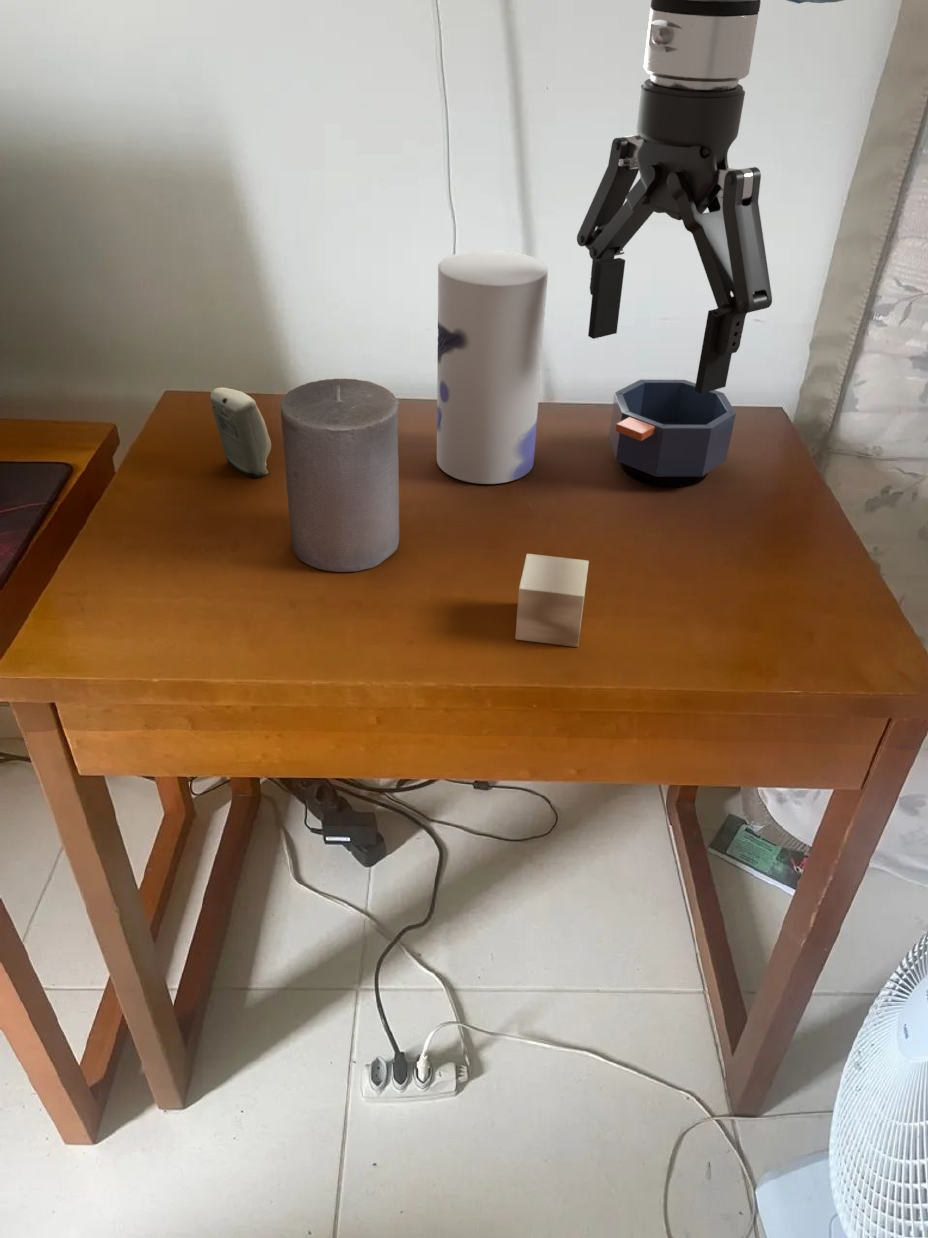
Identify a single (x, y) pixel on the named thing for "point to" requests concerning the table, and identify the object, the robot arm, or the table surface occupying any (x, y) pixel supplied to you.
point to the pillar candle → (342, 473)
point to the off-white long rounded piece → (241, 431)
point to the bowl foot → (661, 478)
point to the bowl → (670, 428)
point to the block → (551, 600)
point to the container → (489, 363)
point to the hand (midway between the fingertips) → (653, 360)
